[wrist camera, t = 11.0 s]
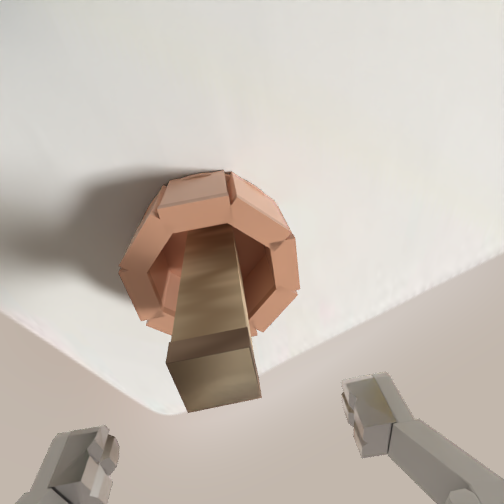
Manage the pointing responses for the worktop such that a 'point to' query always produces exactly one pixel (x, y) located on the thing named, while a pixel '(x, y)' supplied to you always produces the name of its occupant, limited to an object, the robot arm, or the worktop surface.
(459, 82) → the worktop surface
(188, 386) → the tan wooden post
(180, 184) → the terracotta polygonal bowl
